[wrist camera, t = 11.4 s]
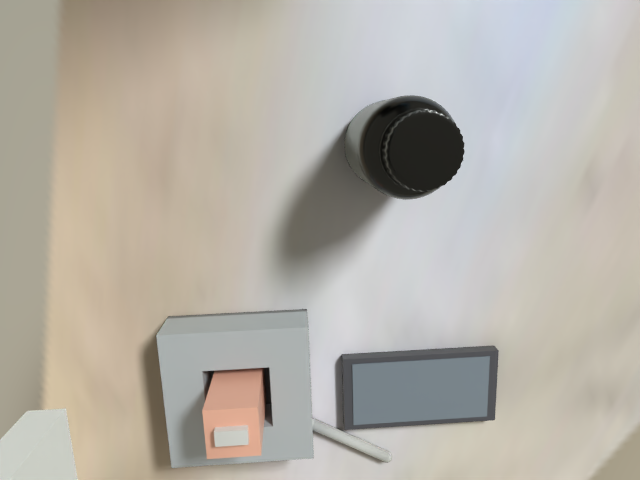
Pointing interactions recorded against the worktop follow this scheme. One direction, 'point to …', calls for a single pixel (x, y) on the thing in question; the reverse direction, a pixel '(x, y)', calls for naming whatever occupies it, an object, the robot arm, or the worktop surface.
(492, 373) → the phone
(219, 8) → the worktop surface
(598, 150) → the worktop surface
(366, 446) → the cable
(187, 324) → the outlet plate
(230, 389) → the block
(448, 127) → the supplement bottle
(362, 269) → the worktop surface
